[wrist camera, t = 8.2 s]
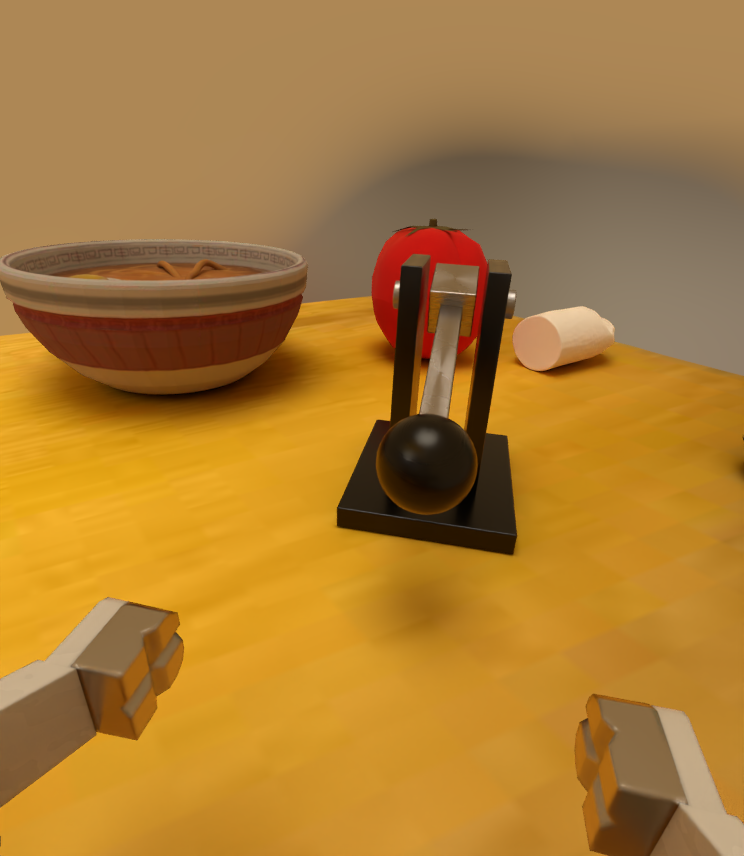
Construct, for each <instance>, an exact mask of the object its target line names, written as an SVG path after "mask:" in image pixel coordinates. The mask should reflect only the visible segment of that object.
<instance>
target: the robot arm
mask: <svg viewBox="0 0 744 856" xmlns="http://www.w3.org/2000/svg"><path fill="white" fill-rule="evenodd" d="M179 625H180V622H179V617H178V613H177V612H172V611H168V610H164V609H159V608H155V607H151V606H146V605H142V604H138V603H133V602H129V601H124V600H119V599H114V598H110V597H107V598H105V599H104V600H102V601H100V602H99V603H98V604H97V605H96V606H95V607H94V608H93V609H92V610H91V611H90V612H89V613H88V614H87V616H86V617H85V618H84V619H83V620H82V621H81V622H80V623H79V624H78V625H77V626H76V628H75V629H74V630H73V631H72V632H71V633H70V634H69V635H68V636H67V637H66V638H65V639H64V641H63V642H62V643H61V644H60V645H59V646H58V647H57V648H56V649H55V650H54V651H53V653H52V654H51V655H50V656H49V657H48V658H47V659H46V660H45V661H41V660H37V661H35V662H33V663H31V664H29V665H27V666H25V667H23V668H21V669H19V670H17V671H15V672H13V673H11V674H9V675H7V676H5V677H3V678H1V679H0V807H2V806H3V805H4V804H6V803H7V802H8V801H10V800H11V799H12V798H14V797H15V796H16V795H18V794H19V793H20V792H22V791H23V790H24V789H26V788H27V787H28V786H30V785H31V784H32V783H34V782H35V781H36V780H37V779H39V778H40V777H41V776H43V775H44V774H45V773H47V772H48V771H49V770H51V769H52V768H53V767H55V766H56V765H57V764H59V763H60V762H61V761H63V760H64V759H65V758H67V757H68V756H69V755H71V754H72V753H73V752H75V751H76V750H77V749H78V748H80V747H81V746H82V745H84V744H85V743H86V742H88V741H89V740H90V739H92V738H93V737H94V736H96V732H99V733H104V734H108V735H113V736H118V737H123V738H128V739H132V740H138V738H139V737H140V735H141V734H142V732H143V730H144V729H145V727H146V726H147V724H148V722H149V721H150V719H151V718H152V716H153V714H154V713H155V711H156V710H157V697H156V696H158V695H159V694H161V693H163V692H164V691H166V690H167V689H169V688H170V687H171V685H172V683H173V682H174V680H175V678H176V677H177V675H178V672H179V669H180V667H181V664H182V661H183V654H184V645H183V640H182V639H181V637H180V636H179V635H178V634H177V633H176V632H175V631H176V630H177V628H178V627H179ZM586 711H587V716H588V718H587V719H585V720H583V721H581V722H580V723H579V726H578V729H577V733H576V739H575V764H576V771H577V778H578V780H579V781H580V783H581V784H582V785H583V787H584V788H585V790H586V791H587V792H588V793H587V796H586V798H585V801H584V803H583V806H582V808H583V814H584V820H585V826H586V832H587V838H588V844H589V850H590V851H594V852H597V853H601V854H605V855H608V856H744V824H743V823H742V821H741V820H740V819H739V818H738V817H737V816H733V815H729V814H727V813H726V810H725V808H724V805H723V803H722V800H721V798H720V795H719V793H718V790H717V788H716V785H715V783H714V780H713V778H712V775H711V773H710V770H709V768H708V765H707V763H706V760H705V758H704V755H703V753H702V750H701V748H700V745H699V743H698V740H697V738H696V735H695V733H694V730H693V728H692V725H691V722H690V720H689V718H688V717H687V715H686V714H685V713H684V712H683V711H679V710H674V709H668V708H663V707H658V706H653V705H650V704H646V703H641V702H635V701H630V700H624V699H619V698H614V697H608V696H603V695H597V694H592V695H591V696H590V697H589V699H588V701H587V704H586ZM0 846H1V836H0Z"/></svg>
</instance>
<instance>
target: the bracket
mask: <svg viewBox="0 0 744 856" xmlns="http://www.w3.org/2000/svg"><path fill="white" fill-rule="evenodd" d="M430 260H431V256H430V255H423V254H412V255H411V256H410V257H409V258H408V259H407V260H406V261H405V262H404V263H403V264H402V265H401V272H400V281H396V282H395V285H394V290H393V308H394V309H398V316H397V331H396V345H395V360H394V375H393V390H392V404H391V419H390V421H385V420H377V421H376V423H375V425H374V427H373V429H372V432H371V434H370V436H369V438H368V440H367V443H366V445H365V447H364V449H363V452H362V454H361V456H360V458H359V460H358V463H357V465H356V467H355V469H354V472H353V474H352V476H351V478H350V480H349V483H348V485H347V487H346V489H345V492H344V494H343V496H342V498H341V500H340V503H339V505H338V507H337V526H340V527H346V528H352V529H358V530H365V531H371V532H377V533H383V534H389V535H396V536H402V537H408V538H414V539H421V540H427V541H433V542H439V543H445V544H452V545H458V546H464V547H470V548H477V549H483V550H489V551H495V552H501V553H508V554H513V553H514V548H515V543H516V539H517V530H516V520H515V510H514V499H513V489H512V479H511V469H510V459H509V449H508V439H507V436H504V435H496V434H488V433H486V429H487V423H488V417H489V411H490V405H491V399H492V393H493V387H494V380H495V374H496V368H497V362H498V356H499V350H500V344H501V337H502V331H503V325H504V319H512V317H513V314H514V308H515V302H516V290H509V288H510V282H511V276H512V274H511V271H510V268H509V265H508V262H507V261H506V260H492V259H489V260H488V264H487V271H486V278H485V285H484V292H483V300H482V307H481V314H480V321H479V328H478V335H477V342H476V349H475V356H474V363H473V370H472V378H471V385H470V392H469V399H468V406H467V413H466V420H465V427H464V431H465V432H466V433H467V434H468V436H469V437H470V439H471V441H472V443H473V445H474V448H475V450H476V455H477V464H478V467H477V475H476V478H475V482H474V484H473V486H472V488H471V490H470V492H469V493H468V495H467V496H466V497H465V498H464V499H463V500H462V501H461V502H460V503H459V504H458V505H456V506H455V507H453V508H452V509H450V510H448V511H445V512H442V513H438V514H432V515H422V514H416V513H412V512H409V511H407V510H405V509H402V508H401V507H399V506H398V505H396V504H395V503H394V502H393V501H392V500H391V499H390V498H389V497H388V496H387V495H386V493H385V492H384V490H383V489H382V487H381V485H380V482H379V479H378V476H377V471H376V457H377V452H378V448H379V445H380V443H381V441H382V439H383V437H384V436H385V434H386V433H387V432H388V431H389V429H390V428H391V427H392V426H394V425H395V424H396V423H398V422H399V421H401V420H402V419H404V418H407V417H409V416H413V415H416V411H417V400H418V390H419V379H420V368H421V357H422V346H423V336H424V325H425V314H426V303H427V292H428V282H429V271H430Z"/></svg>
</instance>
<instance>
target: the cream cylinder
mask: <svg viewBox="0 0 744 856" xmlns="http://www.w3.org/2000/svg"><path fill="white" fill-rule="evenodd" d="M614 331H615V328H614V326H613V325H612V324H611V323H610V321H608V320H607V319H604V318H600V316H599V315H598V313H597V312H595V311H594V310H591V309H588V308H586V307H584V306H580V307H574V308H569V309H562V310H554V311H549V312H545V313H542V314H539V315H534V316H531V317H528V318H526V319H524V320H523V321H521V322H520V323H519V324H518V325H517V327H516V328H515V330H514V333H513V347H514V351H515V353H516V355H517V357H518V359H519V360H520V362H521V363H522V364H523V365H524V366H525V367H527V368H529V369H531V370H536V371H544V370H548V369H552V368H555V367H558V366H561V365H566V364H569V363H573V362H577V361H580V360H584V359H588V358H591V357H594V356H596V355H598V354H600V353H601V352H603V351H604V350H605V349H607V348H608V347H610V346H611V345H612V344H614V342H615V339H614Z"/></svg>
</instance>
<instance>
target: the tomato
mask: <svg viewBox="0 0 744 856" xmlns="http://www.w3.org/2000/svg"><path fill="white" fill-rule="evenodd" d="M411 227H413V228H411ZM400 230H401V231H399V230H398V232H396V233H395V234H394V235H393V236H392V237H391V238H390V239H389V240H387V241H386V243H385V244H384V246H383V248H382V250H381V252H380V254H379V256H378V259H377V263H376V266H375V269H374V273H373V276H372V300H373V307H374V313H375V317H376V320H377V323H378V325H379V326H380V328H381V330H382V332H383V333H384V335H385V337H386V338H387V340H388V341H389V343H390V344H391V345H392V347H393V348H395V345H396V331H397V316H398V309H394V308H393V290H394V285H395V282H396V281H400V272H401V265H402V264H403V263H404V262H405V261H406V260H407V259H408V258H409V257H410V256H411V255H412V254H423V255H430V256H431V260H430V271H429V282H428V292H427V303H426V314H425V325H424V336H423V346H422V357H421V358H426V359H430V355H431V350H432V345H433V340H434V335H435V333H428V332H427V326H428V311H429V295H430V288H431V284H432V280H433V275H434V271H435V267H436V263H442V264H455V265H469V266H479V267H480V268H479V278H478V287H477V296H476V303H475V310H474V317H473V324H472V332H471V336H470V337H466V336H459V343H458V351H457V354H460V353H461V352H462V351H464V350H465V349H466V348H467V347H468V346H469V345H470V344H471V343H472V342H473V340H474V339H475V338H476V337H477V335H478V328H479V321H480V314H481V307H482V300H483V292H484V285H485V278H486V271H487V262H486V259H485V257H484V254H483V252H482V249H481V247H480V245H479V244H478V243H476V242H475V241H473V240H471V239H470V238H469V237H467V236H466V235H465V234H463V233H462V232H461V231H459V230H463V229H453V228H449V227H443V226H437V219H430V223H429V226H410V227H407V228H403V229H400Z"/></svg>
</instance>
